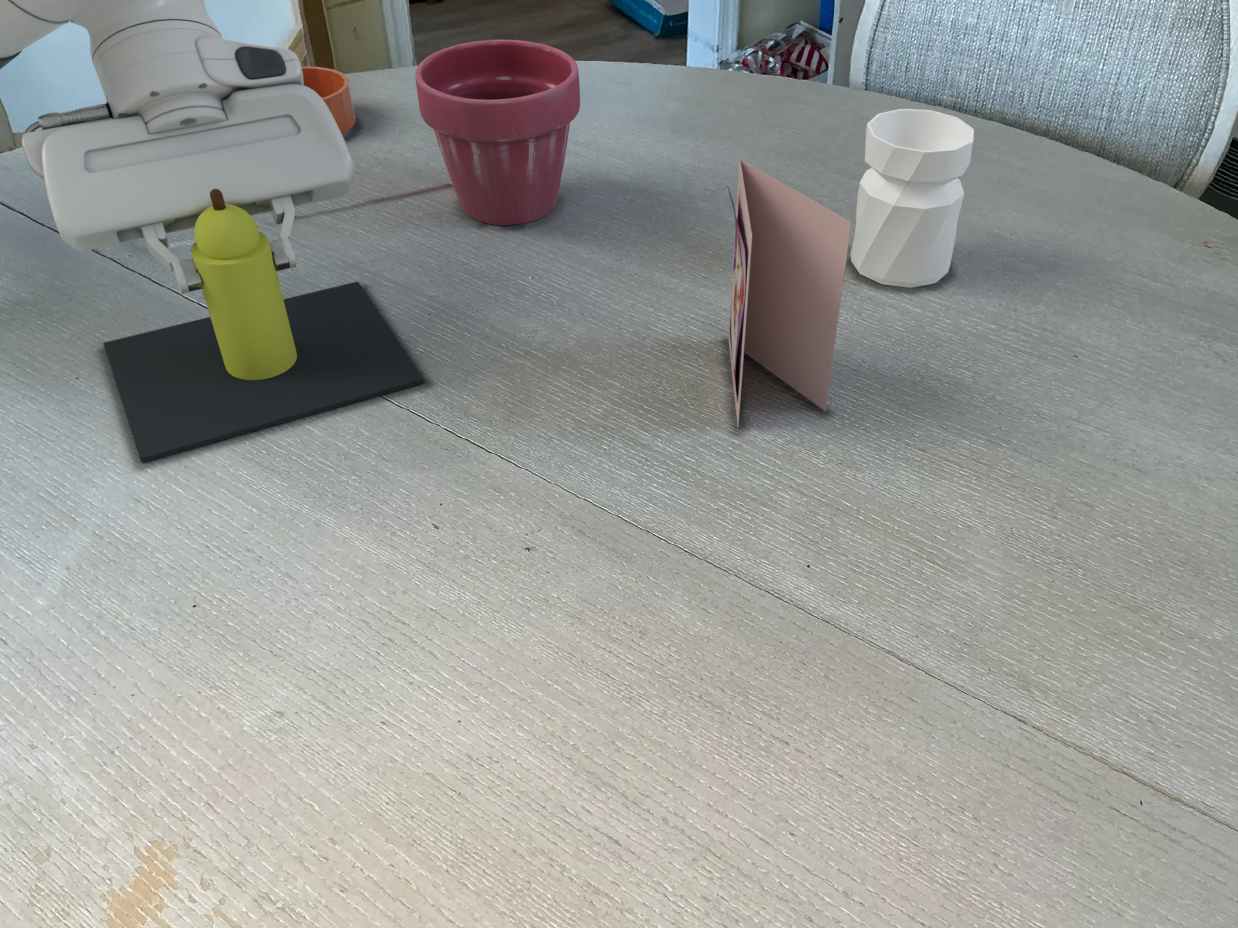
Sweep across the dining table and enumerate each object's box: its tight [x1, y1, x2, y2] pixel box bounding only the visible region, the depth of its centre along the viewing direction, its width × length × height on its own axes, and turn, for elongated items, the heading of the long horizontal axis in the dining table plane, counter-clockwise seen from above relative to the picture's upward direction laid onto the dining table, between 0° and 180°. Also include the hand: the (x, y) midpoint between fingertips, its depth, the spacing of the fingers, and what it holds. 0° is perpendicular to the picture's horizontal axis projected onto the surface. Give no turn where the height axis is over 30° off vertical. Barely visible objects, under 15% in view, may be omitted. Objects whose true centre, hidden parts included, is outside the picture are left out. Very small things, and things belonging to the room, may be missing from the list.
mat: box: [102, 281, 425, 463], centre depth 83 cm, size 20×16×1 cm
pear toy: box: [190, 189, 297, 380], centre depth 79 cm, size 5×5×14 cm
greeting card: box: [727, 158, 852, 429], centre depth 78 cm, size 11×7×15 cm, turn 1°
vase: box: [849, 108, 975, 289], centre depth 93 cm, size 9×9×12 cm
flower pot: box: [414, 39, 581, 226], centre depth 100 cm, size 14×14×13 cm
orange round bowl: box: [301, 66, 357, 135], centre depth 115 cm, size 10×10×4 cm
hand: (240, 277), depth 78 cm, fingers closed on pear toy, 5 cm apart
